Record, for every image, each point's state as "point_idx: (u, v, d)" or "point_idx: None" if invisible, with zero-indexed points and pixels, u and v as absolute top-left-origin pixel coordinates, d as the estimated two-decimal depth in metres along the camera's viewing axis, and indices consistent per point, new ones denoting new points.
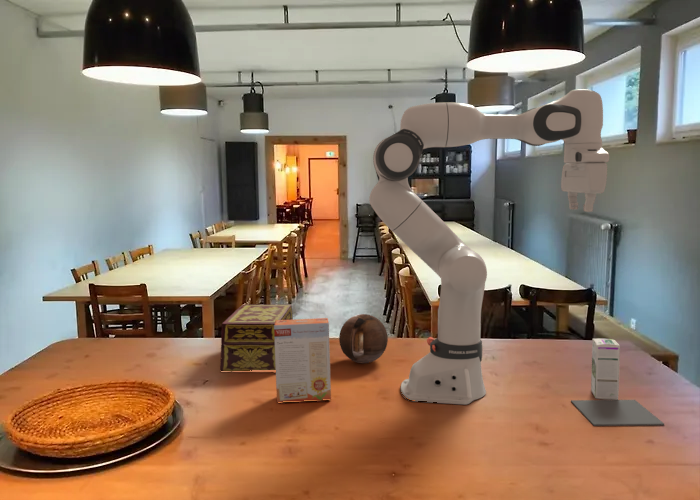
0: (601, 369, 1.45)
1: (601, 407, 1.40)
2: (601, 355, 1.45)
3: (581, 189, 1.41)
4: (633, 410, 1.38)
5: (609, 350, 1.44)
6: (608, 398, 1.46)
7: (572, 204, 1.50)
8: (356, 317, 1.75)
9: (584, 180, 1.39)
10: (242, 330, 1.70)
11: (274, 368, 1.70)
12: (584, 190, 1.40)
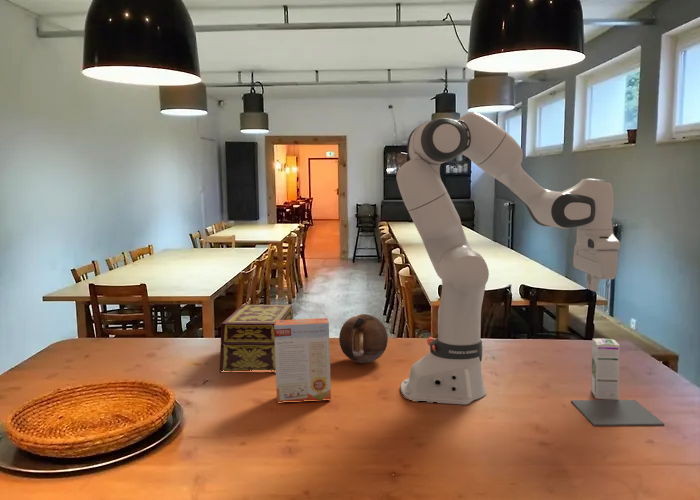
0: (601, 369, 1.45)
1: (601, 407, 1.40)
2: (601, 355, 1.45)
3: (593, 273, 1.50)
4: (633, 410, 1.38)
5: (609, 350, 1.44)
6: (608, 398, 1.46)
7: None
8: (356, 317, 1.75)
9: (596, 265, 1.48)
10: (242, 330, 1.70)
11: (273, 368, 1.69)
12: (596, 275, 1.48)
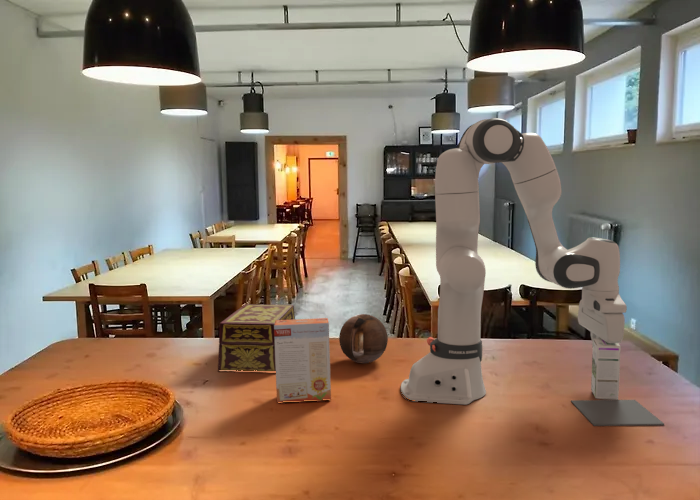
0: (601, 369, 1.45)
1: (601, 407, 1.40)
2: (601, 356, 1.44)
3: (599, 334, 1.47)
4: (633, 410, 1.38)
5: (610, 351, 1.44)
6: (608, 398, 1.46)
7: None
8: (356, 317, 1.75)
9: (602, 328, 1.45)
10: (240, 330, 1.70)
11: (270, 368, 1.69)
12: (602, 337, 1.45)
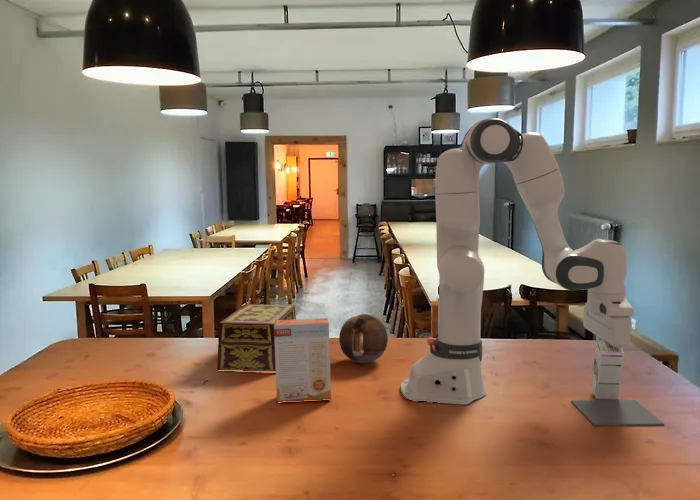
0: (603, 374, 1.43)
1: (601, 407, 1.40)
2: (604, 362, 1.42)
3: (605, 338, 1.43)
4: (633, 410, 1.38)
5: (613, 357, 1.41)
6: (608, 398, 1.46)
7: None
8: (356, 317, 1.75)
9: (608, 332, 1.42)
10: (239, 330, 1.70)
11: (269, 369, 1.69)
12: (608, 342, 1.42)
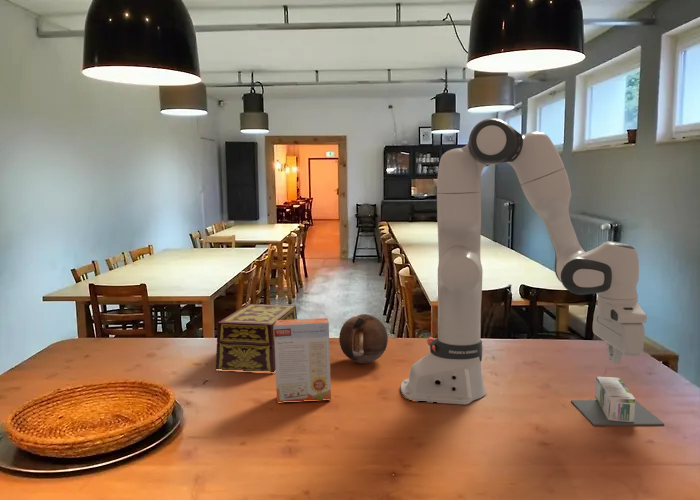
0: None
1: None
2: None
3: (616, 346, 1.37)
4: None
5: None
6: None
7: None
8: (356, 317, 1.75)
9: (620, 339, 1.35)
10: (237, 330, 1.70)
11: (267, 369, 1.69)
12: (619, 349, 1.35)
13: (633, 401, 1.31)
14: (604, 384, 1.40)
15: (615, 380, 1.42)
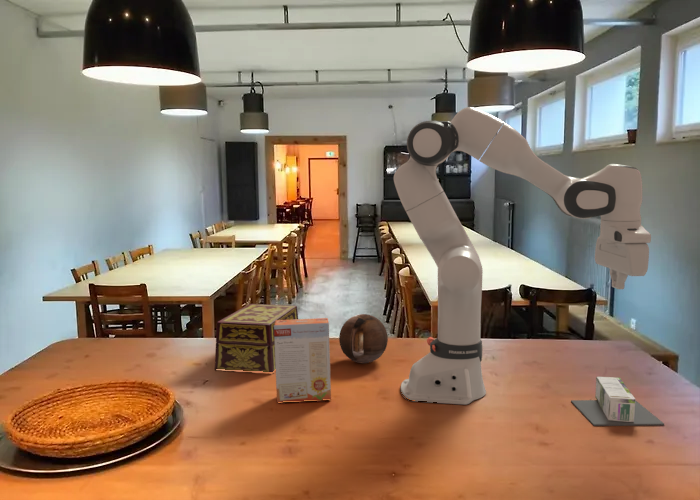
0: None
1: None
2: None
3: (620, 269, 1.35)
4: None
5: None
6: None
7: None
8: (356, 317, 1.75)
9: (624, 261, 1.33)
10: (235, 330, 1.70)
11: (265, 369, 1.69)
12: (624, 271, 1.33)
13: (633, 401, 1.31)
14: (604, 384, 1.40)
15: (615, 380, 1.42)
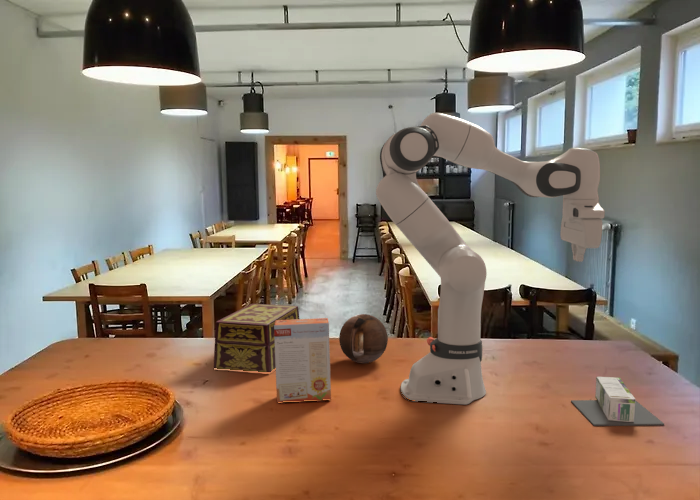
0: None
1: None
2: None
3: (578, 242, 1.50)
4: None
5: None
6: None
7: None
8: (356, 317, 1.75)
9: (581, 235, 1.48)
10: (234, 330, 1.70)
11: (262, 369, 1.68)
12: (580, 244, 1.48)
13: (633, 401, 1.31)
14: (604, 384, 1.40)
15: (615, 380, 1.42)
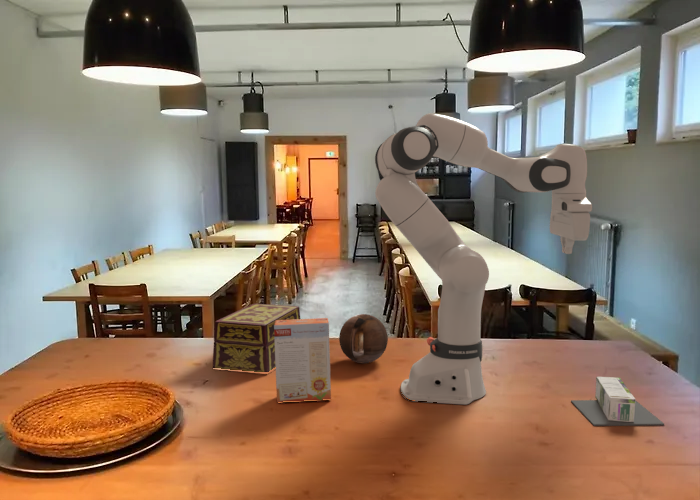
0: None
1: None
2: None
3: (567, 235, 1.55)
4: None
5: None
6: None
7: None
8: (356, 317, 1.75)
9: (569, 228, 1.53)
10: (232, 330, 1.71)
11: (260, 370, 1.68)
12: (569, 237, 1.53)
13: (633, 401, 1.31)
14: (604, 384, 1.40)
15: (615, 380, 1.42)
